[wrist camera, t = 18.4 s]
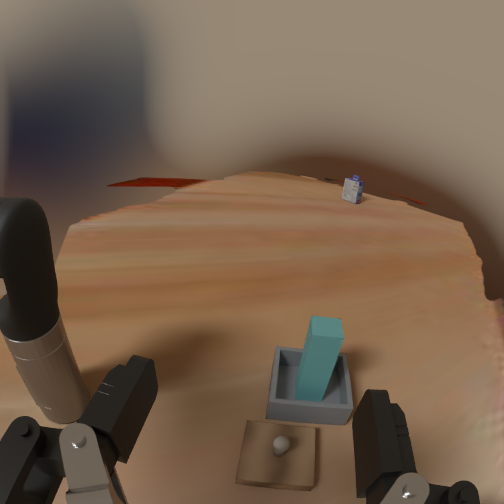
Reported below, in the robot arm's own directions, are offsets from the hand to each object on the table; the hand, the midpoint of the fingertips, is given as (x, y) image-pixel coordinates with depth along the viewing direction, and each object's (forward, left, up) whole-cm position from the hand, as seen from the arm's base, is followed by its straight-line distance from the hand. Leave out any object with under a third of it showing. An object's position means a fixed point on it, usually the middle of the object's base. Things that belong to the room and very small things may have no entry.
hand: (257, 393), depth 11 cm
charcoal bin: (+8, +28, -32) cm, 43 cm away
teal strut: (+8, +28, -31) cm, 42 cm away
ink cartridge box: (+36, +162, -32) cm, 169 cm away
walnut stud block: (+4, +14, -32) cm, 35 cm away
